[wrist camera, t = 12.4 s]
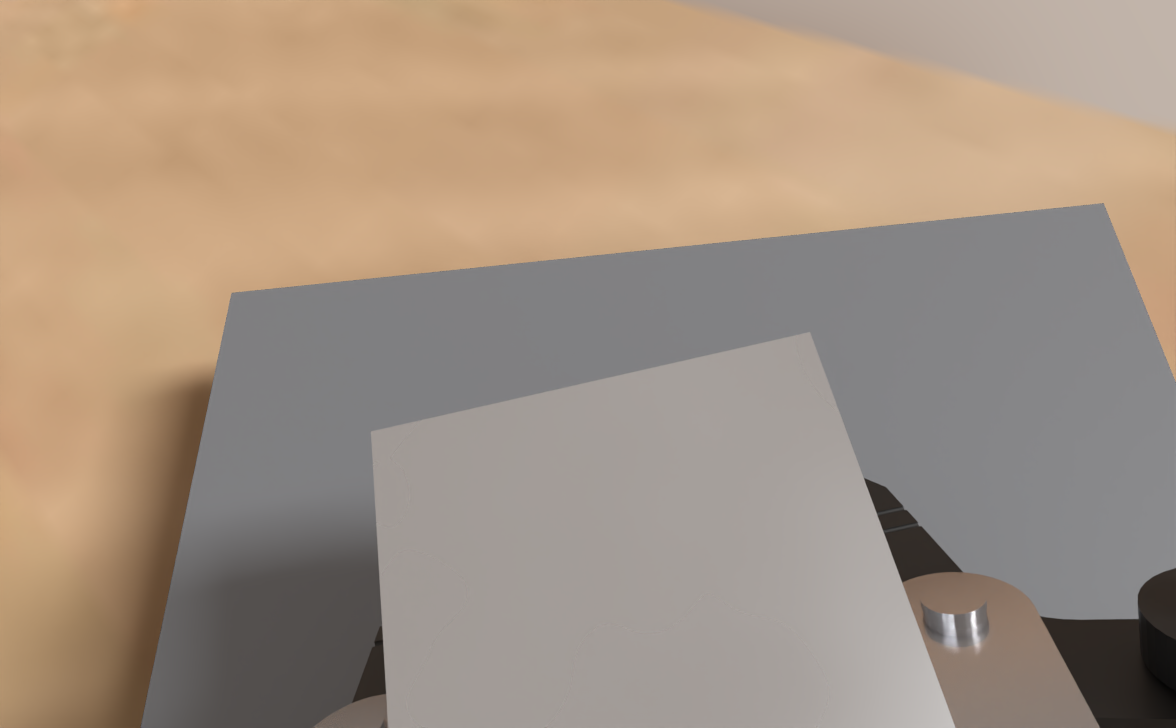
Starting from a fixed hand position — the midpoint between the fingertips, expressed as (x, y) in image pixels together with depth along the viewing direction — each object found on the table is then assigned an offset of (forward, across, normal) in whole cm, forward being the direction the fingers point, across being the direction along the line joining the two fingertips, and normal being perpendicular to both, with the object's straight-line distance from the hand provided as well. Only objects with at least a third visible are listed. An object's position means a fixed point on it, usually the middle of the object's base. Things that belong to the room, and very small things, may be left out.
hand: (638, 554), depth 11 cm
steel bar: (+2, 0, +5) cm, 5 cm away
